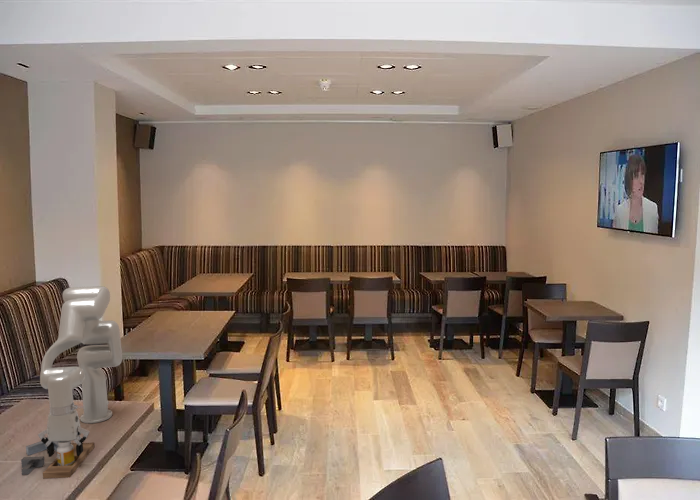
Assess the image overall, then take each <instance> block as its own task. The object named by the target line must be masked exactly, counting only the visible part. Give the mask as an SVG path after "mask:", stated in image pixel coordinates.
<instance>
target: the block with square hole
mask: <svg viewBox="0 0 700 500" xmlns="http://www.w3.org/2000/svg"><path fill="white" fill-rule="evenodd" d="M71 444H72V445H73V447H74V459H75V463H74V464H73V465H72V466H58V460H57V457H56V458H55V459H53V461H52V462H51V463H50V465H49V466H48V467H47V468H46V469H44V471H43V472H42V478H43V479H63V478H65V479H66V478H72V476H73V474H74V473H76V471H77V470H78V468H79V467H80V466H81V465H82V463H83V462H84V461H85V460H86V459H87V457H88V456H89V455H90V453H91V452H92V451H93V450H94V448H95V442H94V441H93V442H83V452H82V453H81V454H80V455H79V456H77V453H76V445H77V443H75V442H71Z"/></svg>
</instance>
